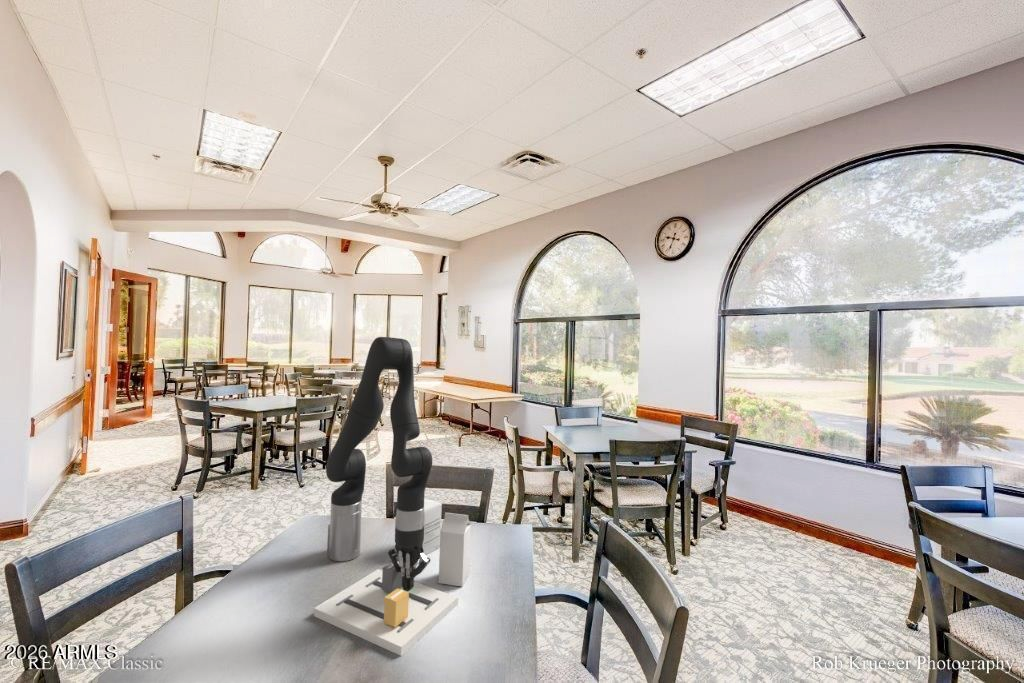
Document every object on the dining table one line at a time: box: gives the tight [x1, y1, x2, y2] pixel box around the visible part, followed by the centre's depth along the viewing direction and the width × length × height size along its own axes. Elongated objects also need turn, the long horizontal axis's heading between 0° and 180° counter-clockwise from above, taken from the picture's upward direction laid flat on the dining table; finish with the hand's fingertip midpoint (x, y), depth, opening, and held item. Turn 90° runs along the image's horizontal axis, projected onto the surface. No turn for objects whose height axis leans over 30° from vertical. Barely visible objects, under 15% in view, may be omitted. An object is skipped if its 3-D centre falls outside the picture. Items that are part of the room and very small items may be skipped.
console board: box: [313, 568, 459, 657], centre depth 114 cm, size 28×22×2 cm
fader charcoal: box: [382, 561, 402, 593], centre depth 120 cm, size 4×4×6 cm
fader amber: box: [384, 588, 409, 627], centre depth 106 cm, size 4×4×6 cm
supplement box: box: [422, 497, 443, 557], centre depth 148 cm, size 9×9×15 cm
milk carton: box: [438, 512, 472, 587], centre depth 130 cm, size 7×7×19 cm
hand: (407, 589), depth 117 cm, fingers closed
